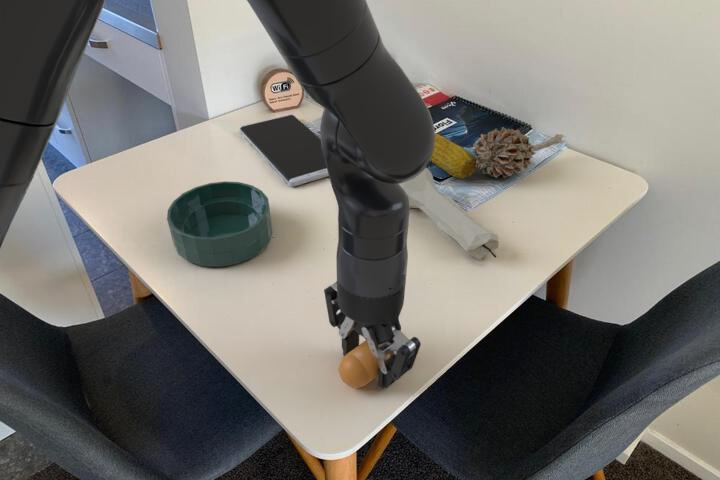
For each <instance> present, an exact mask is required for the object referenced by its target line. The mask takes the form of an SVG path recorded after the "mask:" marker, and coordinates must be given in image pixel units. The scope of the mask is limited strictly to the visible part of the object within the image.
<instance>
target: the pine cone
mask: <svg viewBox="0 0 720 480" xmlns="http://www.w3.org/2000/svg"><path fill="white" fill-rule="evenodd" d="M554 135H555V136H553V137H550V138H548V139H547V140H544V141H543V142H540V143H536V144H533V145H532V142H530V141H529V140H530V137H528V136H527V135H526V134H522V133H521V131H520V130H519V129H516V130H514V129H513V128H505V127H504V126H502V127H501V129H500V130H499V129H498V128H497V127H496V128H494V129H493V130H491V131H489V132H487V134H483V133H481V134H480V138H479V139H477V142H475V143H474V142H473V147H474V148H473V149H471V150H470V153H471V152H472V153H473V154H474V156H473V157H474V159H475V162H476V164H475V168H478V169H479V171H480V172H482V174H484V175H486V174H488V175H489V176H490V177H492V178H493V177H494V178H495V179H498V178H499V176H502V177H503V179H506V178H507V177H508V176H509V177H512V176H515V175H516V174H521V170H522V169H525V170H528V168H529V166H531V165H532V161H531V159H533V156H534V155H536V152H537V151H540V150H543V149H546V148H549V147H551V146H554V145H558V144H563V143H564V141H563V140H562V139H563V137H567V136H565V135H563V133H560V134H557V133H555V134H554Z"/></svg>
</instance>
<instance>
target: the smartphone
mask: <svg viewBox="0 0 720 480" xmlns="http://www.w3.org/2000/svg"><path fill="white" fill-rule="evenodd" d="M239 132H240V133H241V135H243V137H245V139H246V140H247V141H248V142H249V143H250V144H251V145H252V146H253V147H254V148H255V150H256V151H257V152H258V153H259V154H260V155H261V156H262V157H263V158H264V159H265V161H266V162H267V163H268V164H269V165H270V166H271V167H272V168H273V170H275V171H276V172H277V173H278V175H279V176H280V177H281V178H282V179H283V180H284V181H285V182H286V183H287V185H288V186H290V187H297V186H301V185H304V184H308V183H310V182H314V181H317V180H320V179H324V178H327V177H329V174H328V170H327V167H326V163H325V159H324V156H323V151H322V145H321V137H320V136H318V135H317V134H316V133H315V132H313V130H311V129H310V128H309V127H308V126H306V124H304V123H303V121H301V120H299V119H298V118H297V117H296V116H295V115H294V114H292V113H291V114H286V115H281V116H276V117H272V118H268V119H264V120H259V121H256V122H252V123H248V124H247V123H246V124H243V125H240V127H239Z"/></svg>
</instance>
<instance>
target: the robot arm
mask: <svg viewBox="0 0 720 480" xmlns="http://www.w3.org/2000/svg"><path fill="white" fill-rule="evenodd" d="M106 1H107V0H0V249H1V247H2V246H3V244H4V241H5V239H6V236H7V234H8V232H9V229H10V227H11V225H12V223H13V220H14V218H15V216H16V214H17V212H18V210H19V208H20V205H21V204H22V202H23V200H24V198H25V196H26V194H27V192H28V190H29V188H30V186H31V183H32V181H33V180H34V177H35V175H36V172H37V170H38V168H39V165H40V164H41V161H42V159H43V156H44V154H45V152H46V149H47V147H48V144H49V142H50V140H51V137H52V135H53V133H54V130H55V128H56V126H57V124H58V123H57V122H58V121H59V119H60V117H61V114H62V111H63V108H64V106H65V103H66V100H67V97H68V94H69V92H70V89H71V87H72V84H73V82H74V79H75V76H76V74H77V71H78V68H79V66H80V65H81V62H82V60H83V57H84V54H85V52H86V50H87V47H88V45H89V42H90V40H91V38H92V35H93V34H94V30H95V28H96V26H97V23H98V21H99V19H100V16H101V14H102V11H103V10H104V6H105V4H106ZM246 1H247V3H248V4H249V6H250V7H251V9H252V11H253V12H254V14H255V15H256V17H257V18H258V21H259V22H260V23H261V25H262V27H263V28H264V30H265V32H266V33H267V35H268V36H269V38H270V40H271V41H272V43H273V44H274V46H275V48H276V50H277V52H278V53H279V54H280V56H281V57H282V59H283V60H284V62H285V64H286V65H287V67H288V68H289V70H290V72H291V73H292V75H293V76H294V78H295V79H296V81H297V83H298V84H299V86H300V87H301V88H302V89H303V91H304V92H305V93H306V94H307V96H309V97H310V99H312V100H313V101H314V102H316V103H317V104H318V105H320V107H322V108H323V112H322V113H321V120H320V129H319V132H320V133H319V135H320V136H319V138H320V139H321V145H322V151H323V156H324V159H325V163H326V167H327V170H328V174H329V176H328V178H329V181H330V185H331V189H332V191H333V194H334V197H335V199H336V202H337V207H338V208H337V209H338V210H337V211H338V212H337V225H338V226H337V231H338V232H337V233H338V234H337V237H338V242H337V248H336V256H335V258H336V261H335V262H336V282H334V283H333V284H330V285H329V286H327V287H326V288H324V291H323V293H324V298H325V305H326V311H327V316H328V321H329V322H328V323H329V324H330V325H331V327H333V328H336V327H337V329H338V335H339V336H340V337H341V349H342V356H343V357H344V356H345V355H346V354H348V353H349V352H350V351H352V350H353V349H354V348H356V347H357V346H359V345H360V336H361V337H362V338H364V339H365V340H367V342H368V345H369V348H370V351H371V354H372V356H373V357H375V358H377V361H378V364H379V367H380V368H379V369H378V376H377V387H378V388H380V390H384V389H388V388H390V386H392V385H393V384H395V382H397V381H398V380H400V379H401V378H402V377H403V376H404V375H405V374H406V373H407V372H409V371H411V370H412V369H413V367H414V364H415V361H416V359H417V357H418V353H419V351H420V348H421V345H422V343H421V340H420V339H419V338H418V337H417V336H413V337H411V338H410V339H409V337H407V335H405V334H404V333H403V332H402V325H401V323H400V319H399V318H400V315H401V312H402V310H403V307H404V304H405V296H406V295H405V294H406V293H405V292H406V283H407V273H408V272H407V271H408V260H409V252H408V233H409V222H410V212H411V211H410V209H411V208H410V206H409V199H408V196H407V194H406V192H405V191H404V190H403V188H402V187H401V186H400V185H399V183H404V182H407V181H410V180H412V179H414V178H415V177H416V176H418V175H419V174H420V173H421V172H422V171H423V170H424V169H425V168H427V166H428V165H429V163H430V159H431V156H432V153H433V150H434V144H435V133H436V131H435V125H434V121H433V118H432V115H431V112H430V110H429V108H428V105H427V104H426V102H425V101H424V99H423V97H422V96H421V95H420V93H419V91H418V90H417V89H416V87H415V85H414V84H413V83H412V81H411V80H410V78H409V77H408V76H407V74H406V73H405V71H404V69H403V68H402V67H401V66H400V64H399V63H398V62H397V61H396V60H395V58H394V57H393V56H392V55H391V53H390V52H389V50H387V48H386V46H385V44H384V41H383V40H382V39H383V38H382V37H381V34H380V31H379V29H378V26H377V24H376V21H375V18H374V17H373V13H372V11H371V9H370V7H369V5H368V2H367V0H246ZM338 311H340V312H338ZM380 344H382V345H381V346H380V347H379V346H378V345H380ZM388 354H390V358H388V359H387V360H386V356H387V355H388Z"/></svg>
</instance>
